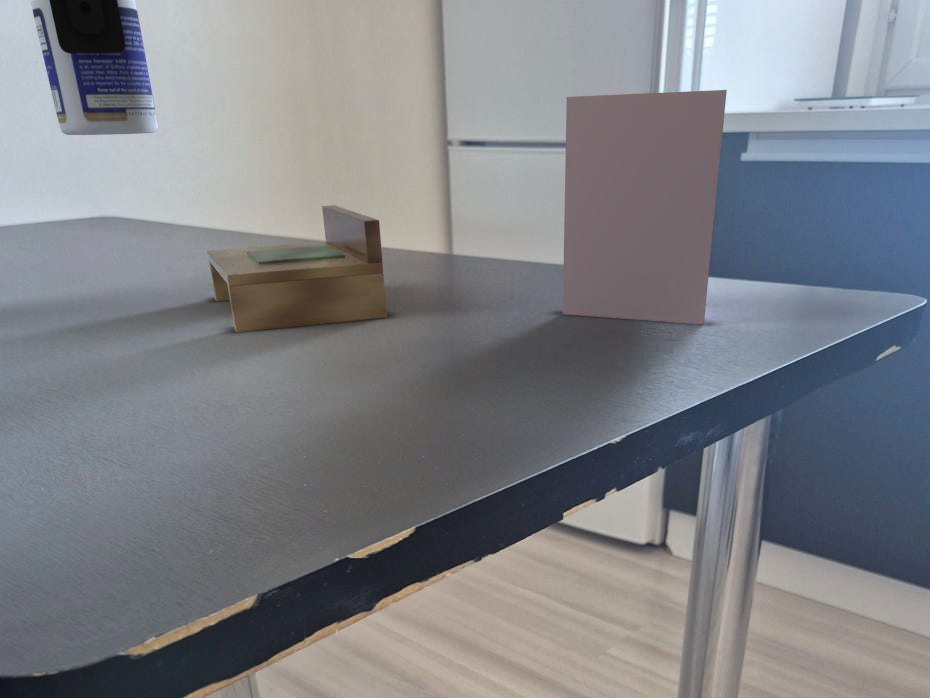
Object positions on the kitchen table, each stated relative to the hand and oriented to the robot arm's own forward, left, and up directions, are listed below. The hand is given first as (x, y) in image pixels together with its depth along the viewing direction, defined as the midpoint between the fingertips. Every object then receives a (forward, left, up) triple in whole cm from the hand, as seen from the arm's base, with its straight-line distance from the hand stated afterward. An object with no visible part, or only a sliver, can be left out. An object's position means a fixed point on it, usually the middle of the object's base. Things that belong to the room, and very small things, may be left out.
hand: (94, 51), depth 47 cm
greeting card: (+35, +2, -18) cm, 39 cm away
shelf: (+12, +19, -18) cm, 29 cm away
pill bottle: (0, 0, -4) cm, 4 cm away
